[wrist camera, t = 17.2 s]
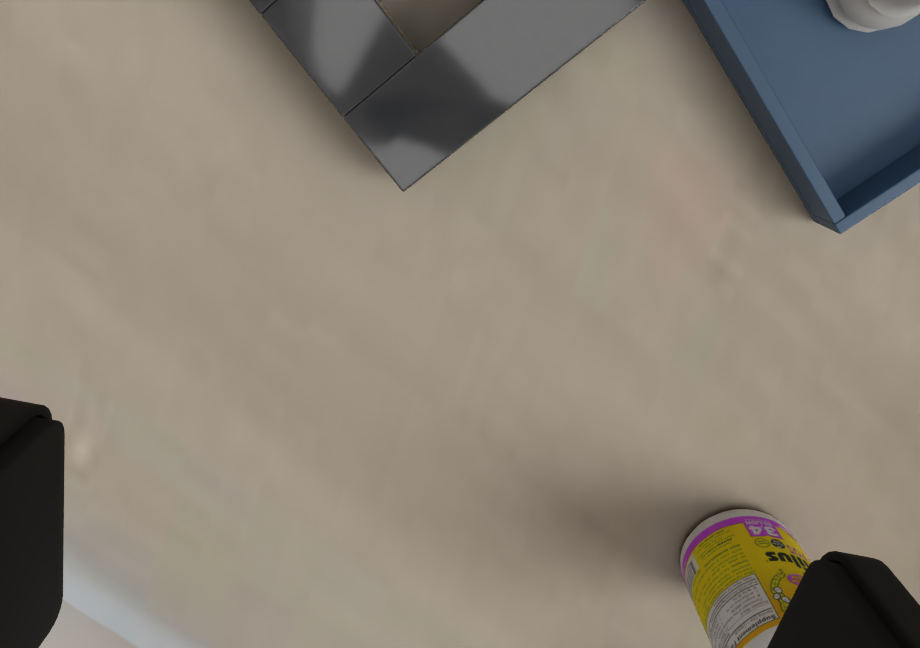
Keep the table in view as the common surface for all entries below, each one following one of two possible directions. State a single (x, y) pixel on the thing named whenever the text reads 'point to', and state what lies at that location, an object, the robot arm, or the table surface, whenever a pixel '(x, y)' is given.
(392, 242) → the table surface
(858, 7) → the rook chess piece
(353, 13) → the square hole block
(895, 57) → the basin tray
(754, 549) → the supplement bottle
